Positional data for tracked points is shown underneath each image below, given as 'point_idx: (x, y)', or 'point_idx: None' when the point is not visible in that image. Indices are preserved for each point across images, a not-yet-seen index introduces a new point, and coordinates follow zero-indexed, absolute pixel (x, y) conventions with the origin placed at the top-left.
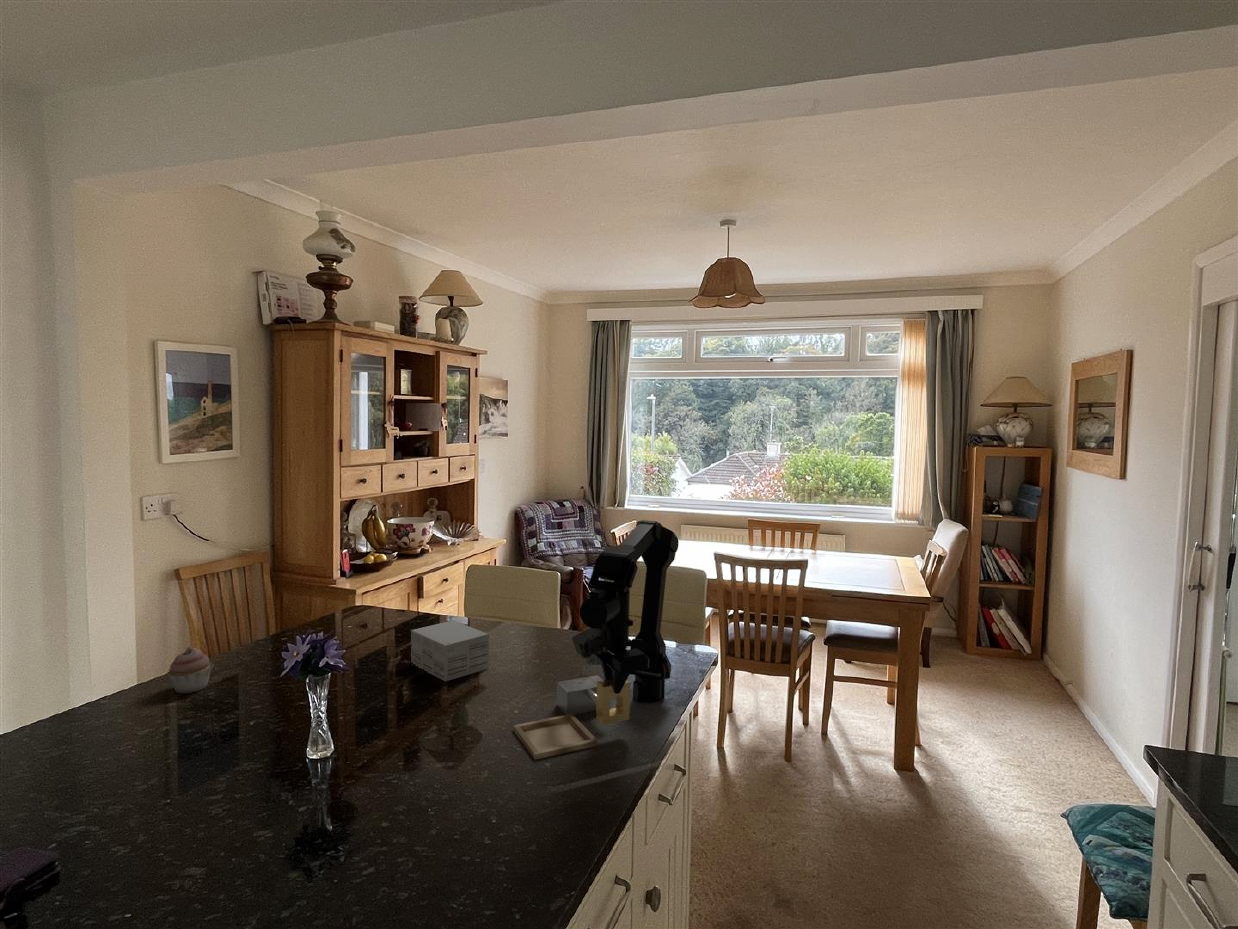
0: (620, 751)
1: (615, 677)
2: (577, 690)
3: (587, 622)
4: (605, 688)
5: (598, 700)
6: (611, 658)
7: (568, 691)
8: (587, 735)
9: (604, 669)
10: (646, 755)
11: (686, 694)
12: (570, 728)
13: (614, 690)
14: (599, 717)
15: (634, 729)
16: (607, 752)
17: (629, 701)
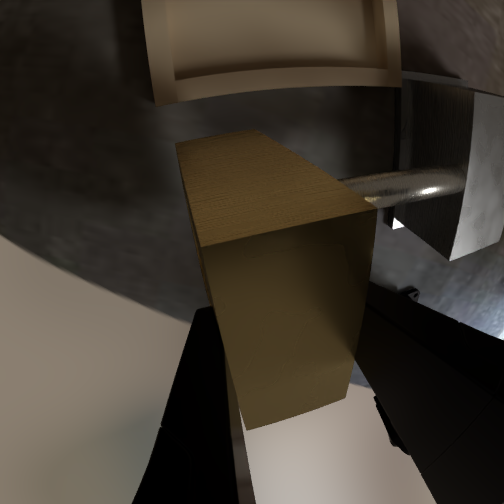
0: (123, 186)
1: (150, 465)
2: (472, 136)
3: None
4: (203, 263)
5: (266, 160)
6: (471, 469)
7: (478, 100)
8: (214, 75)
9: (444, 357)
10: (87, 263)
11: (363, 382)
12: (327, 47)
13: (201, 322)
14: (217, 140)
15: None
16: (125, 138)
17: None
